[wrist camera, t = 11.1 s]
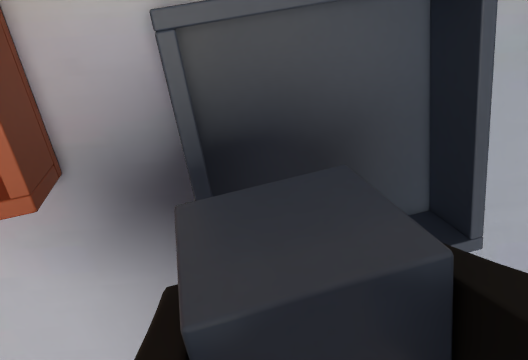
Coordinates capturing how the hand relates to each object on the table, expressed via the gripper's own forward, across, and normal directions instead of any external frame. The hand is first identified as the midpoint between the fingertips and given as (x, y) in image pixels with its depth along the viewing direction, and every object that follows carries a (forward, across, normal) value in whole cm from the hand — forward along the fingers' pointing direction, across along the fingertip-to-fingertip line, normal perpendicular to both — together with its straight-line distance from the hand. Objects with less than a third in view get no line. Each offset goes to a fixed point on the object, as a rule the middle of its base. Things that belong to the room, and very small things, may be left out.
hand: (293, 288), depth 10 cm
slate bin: (+8, -4, -1) cm, 9 cm away
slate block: (+1, 0, 0) cm, 1 cm away
